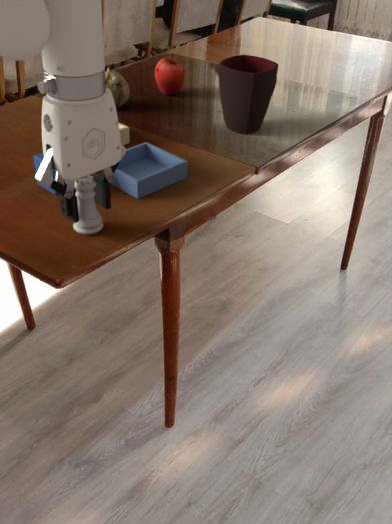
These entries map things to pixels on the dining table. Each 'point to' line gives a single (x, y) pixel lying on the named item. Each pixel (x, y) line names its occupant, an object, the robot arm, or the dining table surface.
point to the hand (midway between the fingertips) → (86, 211)
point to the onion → (117, 87)
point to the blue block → (37, 162)
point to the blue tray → (148, 170)
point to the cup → (246, 91)
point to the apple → (169, 74)
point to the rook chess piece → (87, 207)
